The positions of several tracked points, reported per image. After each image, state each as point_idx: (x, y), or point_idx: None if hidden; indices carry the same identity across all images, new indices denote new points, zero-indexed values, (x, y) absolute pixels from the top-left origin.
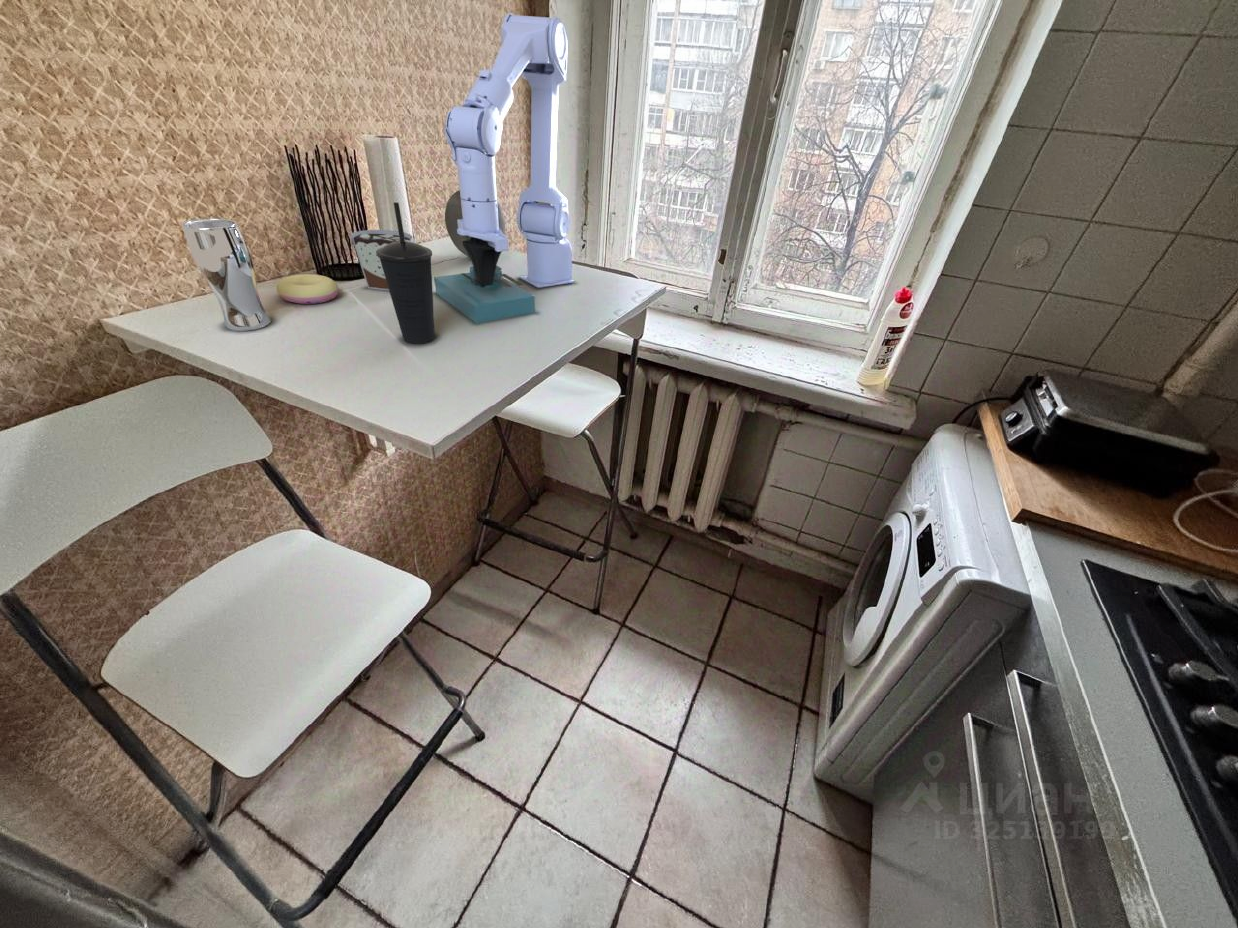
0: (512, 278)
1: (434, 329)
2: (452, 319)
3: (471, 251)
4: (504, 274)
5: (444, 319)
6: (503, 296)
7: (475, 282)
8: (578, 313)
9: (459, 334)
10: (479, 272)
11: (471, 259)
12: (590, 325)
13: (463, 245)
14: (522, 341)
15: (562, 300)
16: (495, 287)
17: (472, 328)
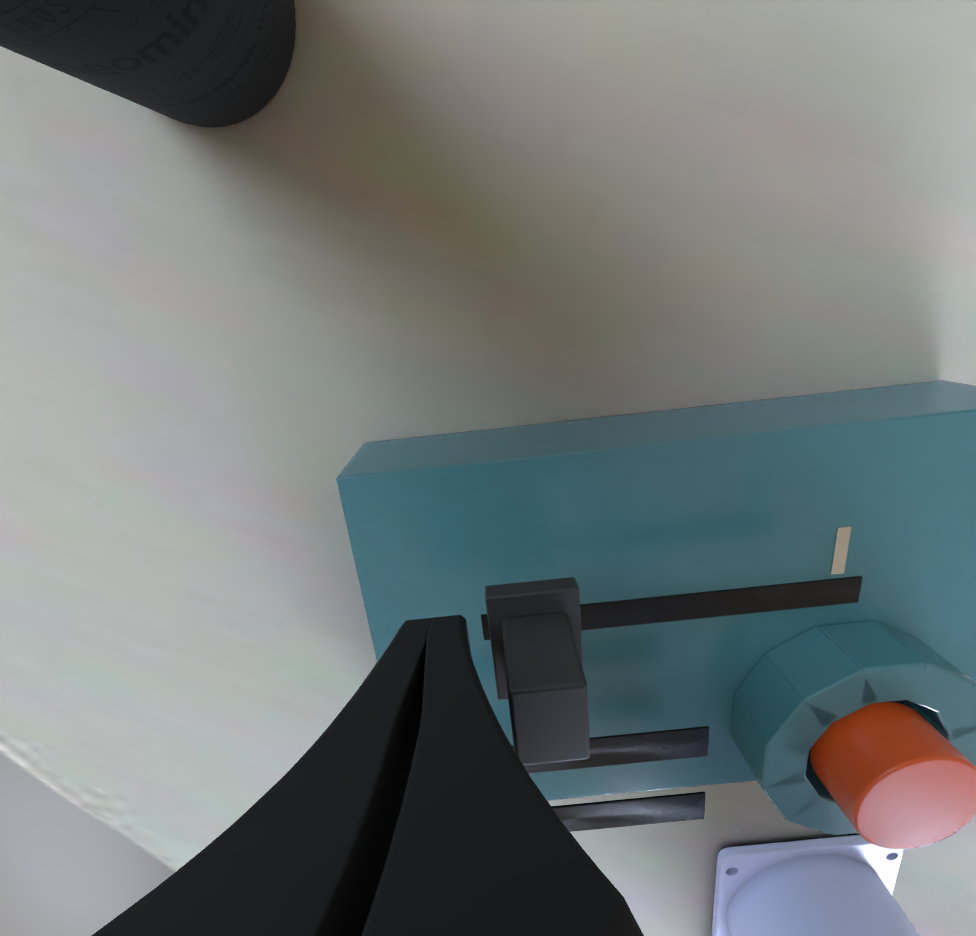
0: (592, 827)
1: (143, 105)
2: (474, 335)
3: (294, 898)
4: (693, 814)
5: (490, 288)
6: None
7: (496, 600)
8: None
9: (228, 298)
10: (357, 692)
11: (485, 756)
12: None
13: (598, 906)
14: (75, 566)
15: None
16: (635, 694)
17: (302, 398)
